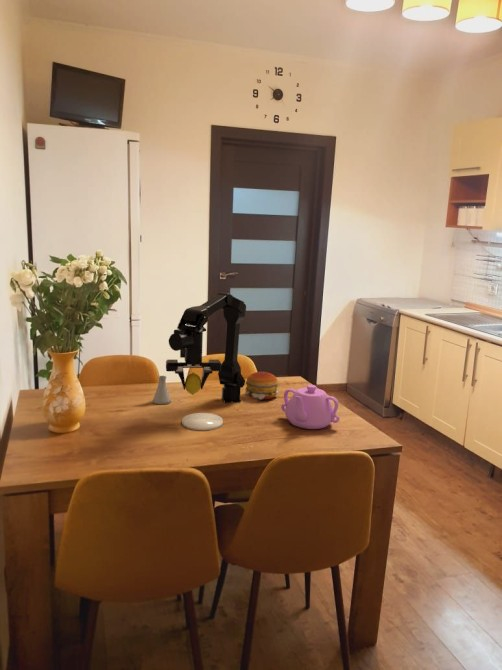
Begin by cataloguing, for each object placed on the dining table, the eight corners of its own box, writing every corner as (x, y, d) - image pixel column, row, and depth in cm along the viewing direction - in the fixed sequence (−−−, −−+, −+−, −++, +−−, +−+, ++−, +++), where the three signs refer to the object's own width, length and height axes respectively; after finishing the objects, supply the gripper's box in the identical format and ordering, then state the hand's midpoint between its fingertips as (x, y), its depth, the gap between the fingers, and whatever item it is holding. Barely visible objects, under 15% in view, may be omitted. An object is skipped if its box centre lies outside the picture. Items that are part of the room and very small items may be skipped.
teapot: (264, 428, 180) (266, 389, 177) (290, 410, 199) (292, 374, 196) (325, 442, 170) (328, 401, 167) (346, 422, 189) (349, 385, 186)
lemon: (197, 398, 180) (198, 375, 178) (182, 396, 181) (182, 373, 179) (202, 393, 185) (203, 371, 183) (187, 391, 186) (188, 369, 185)
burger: (278, 392, 219) (280, 369, 217) (277, 403, 206) (278, 378, 204) (246, 390, 220) (248, 367, 218) (243, 400, 207) (244, 376, 205)
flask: (169, 405, 198) (170, 379, 195) (150, 404, 198) (150, 378, 196) (172, 399, 205) (173, 374, 203) (154, 398, 205) (154, 373, 203)
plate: (219, 415, 190) (219, 412, 190) (225, 429, 176) (225, 426, 176) (180, 416, 187) (180, 413, 187) (183, 431, 174) (183, 428, 173)
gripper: (218, 340, 189) (217, 382, 192) (165, 340, 185) (165, 382, 189) (222, 347, 178) (220, 391, 181) (166, 347, 175) (165, 392, 178)
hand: (192, 389), depth 183 cm, fingers closed on lemon, 5 cm apart
